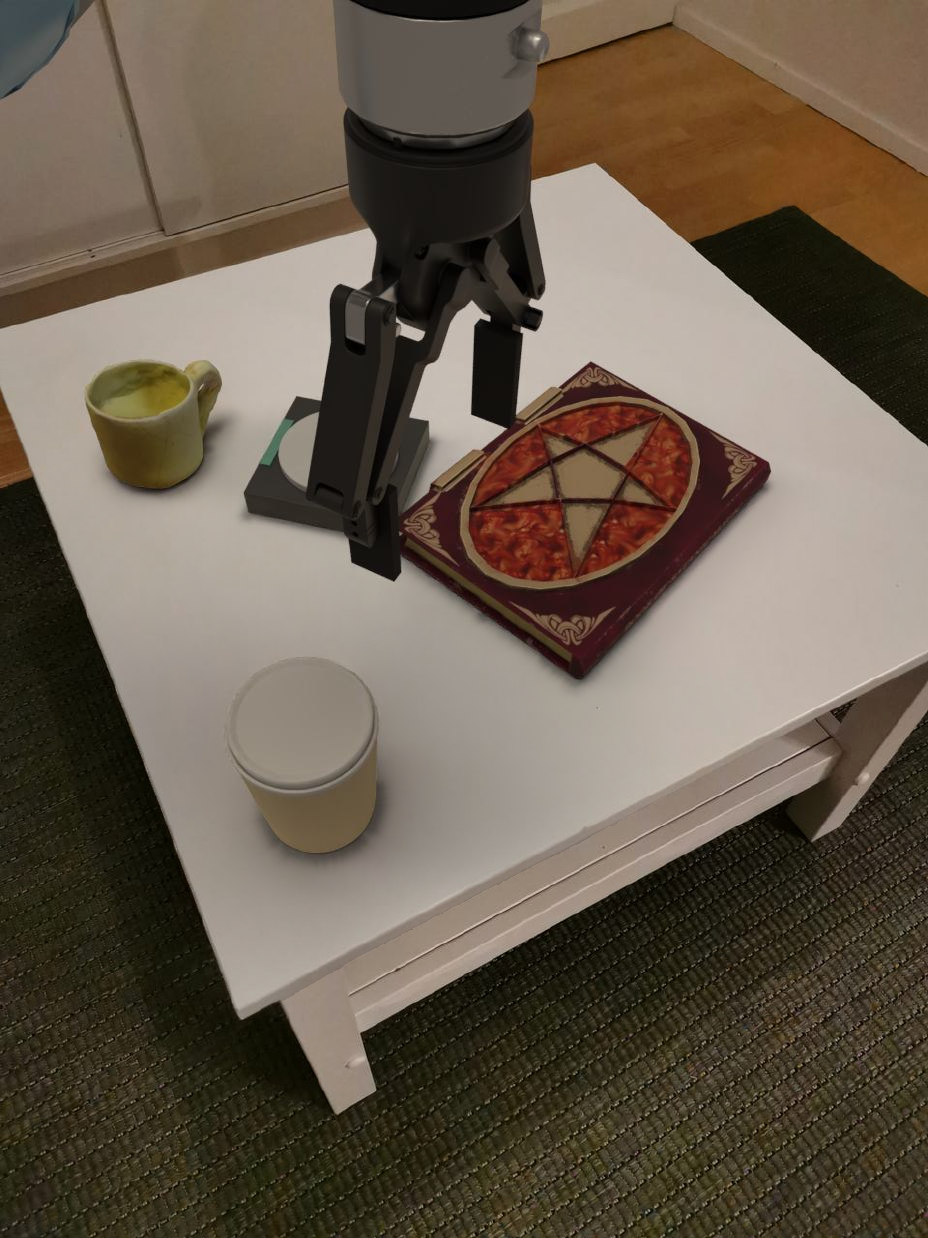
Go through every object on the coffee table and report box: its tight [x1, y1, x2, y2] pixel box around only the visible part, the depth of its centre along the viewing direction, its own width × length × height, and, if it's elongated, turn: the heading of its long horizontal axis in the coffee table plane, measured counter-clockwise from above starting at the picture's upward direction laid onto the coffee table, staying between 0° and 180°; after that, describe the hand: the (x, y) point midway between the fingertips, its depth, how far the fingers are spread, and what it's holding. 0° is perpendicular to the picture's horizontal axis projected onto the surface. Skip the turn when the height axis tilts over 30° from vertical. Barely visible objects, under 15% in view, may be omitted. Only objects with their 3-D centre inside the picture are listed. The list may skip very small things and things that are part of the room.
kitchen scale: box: [243, 395, 430, 533], centre depth 82 cm, size 13×13×3 cm
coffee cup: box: [223, 656, 380, 854], centre depth 60 cm, size 9×9×12 cm
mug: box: [83, 358, 223, 490], centre depth 82 cm, size 12×10×10 cm
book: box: [399, 360, 772, 680], centre depth 80 cm, size 28×21×5 cm
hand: (438, 488), depth 53 cm, fingers open, 13 cm apart
